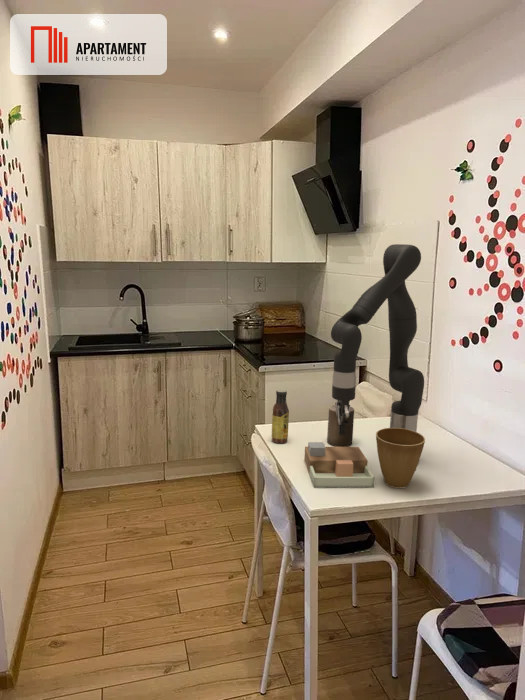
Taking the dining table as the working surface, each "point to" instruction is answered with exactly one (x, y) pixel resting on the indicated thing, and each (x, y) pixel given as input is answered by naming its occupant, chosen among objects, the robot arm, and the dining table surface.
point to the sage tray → (342, 480)
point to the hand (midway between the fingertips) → (342, 434)
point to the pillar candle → (333, 426)
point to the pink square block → (344, 468)
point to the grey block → (316, 449)
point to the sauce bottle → (280, 418)
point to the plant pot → (399, 454)
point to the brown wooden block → (336, 453)
